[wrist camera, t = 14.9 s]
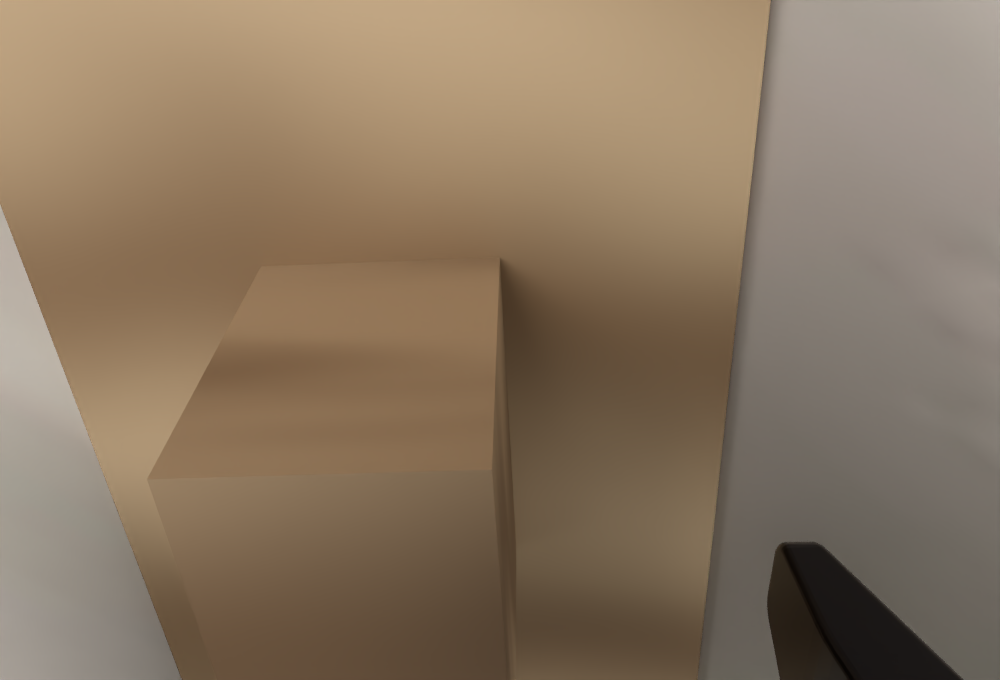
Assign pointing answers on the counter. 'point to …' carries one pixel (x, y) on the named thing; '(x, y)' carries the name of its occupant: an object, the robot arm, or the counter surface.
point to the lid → (396, 316)
